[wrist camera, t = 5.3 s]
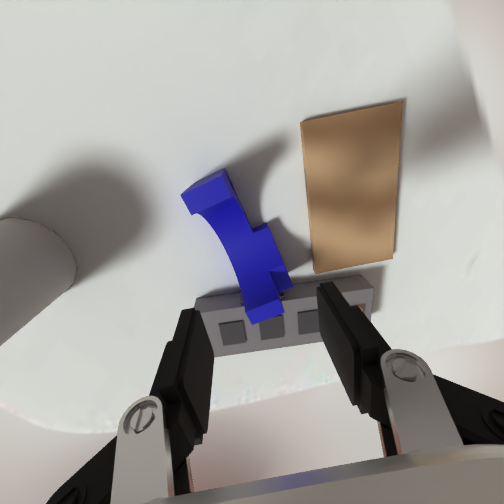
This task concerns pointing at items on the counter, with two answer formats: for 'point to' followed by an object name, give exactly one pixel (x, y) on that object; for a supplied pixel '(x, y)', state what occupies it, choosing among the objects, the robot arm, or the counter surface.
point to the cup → (30, 272)
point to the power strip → (279, 327)
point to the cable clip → (242, 245)
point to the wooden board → (352, 185)
